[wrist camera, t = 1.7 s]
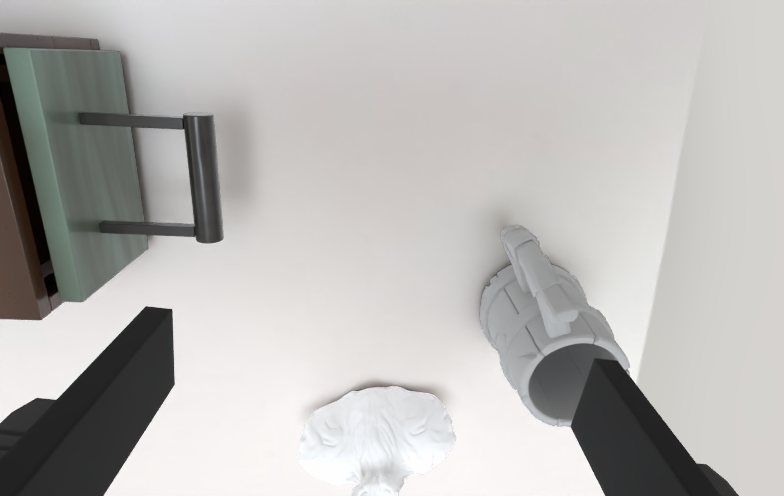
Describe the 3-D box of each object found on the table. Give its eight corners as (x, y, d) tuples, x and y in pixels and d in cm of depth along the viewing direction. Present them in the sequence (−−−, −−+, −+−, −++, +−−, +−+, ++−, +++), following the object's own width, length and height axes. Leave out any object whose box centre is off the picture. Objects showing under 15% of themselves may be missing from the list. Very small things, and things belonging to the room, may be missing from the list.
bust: (311, 408, 42) (314, 559, 36) (285, 386, 36) (284, 566, 30) (446, 389, 42) (470, 539, 36) (445, 364, 35) (475, 542, 30)
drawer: (235, 57, 29) (185, 57, 21) (247, 252, 33) (210, 307, 26) (-137, 36, 28) (-323, 29, 20) (-71, 240, 32) (-203, 293, 25)
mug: (491, 357, 38) (537, 481, 27) (446, 225, 34) (479, 307, 23) (585, 328, 37) (673, 443, 26) (552, 188, 33) (639, 255, 22)
